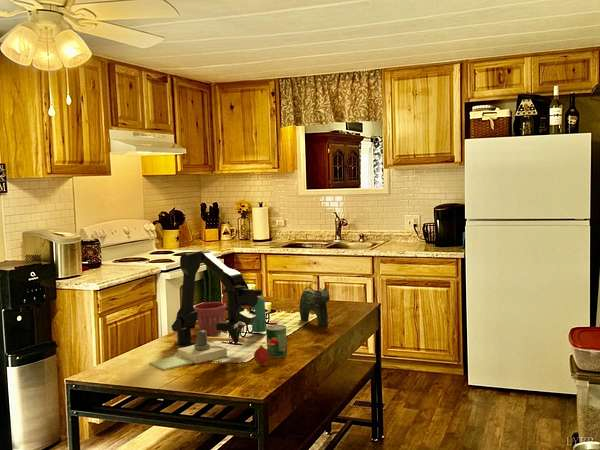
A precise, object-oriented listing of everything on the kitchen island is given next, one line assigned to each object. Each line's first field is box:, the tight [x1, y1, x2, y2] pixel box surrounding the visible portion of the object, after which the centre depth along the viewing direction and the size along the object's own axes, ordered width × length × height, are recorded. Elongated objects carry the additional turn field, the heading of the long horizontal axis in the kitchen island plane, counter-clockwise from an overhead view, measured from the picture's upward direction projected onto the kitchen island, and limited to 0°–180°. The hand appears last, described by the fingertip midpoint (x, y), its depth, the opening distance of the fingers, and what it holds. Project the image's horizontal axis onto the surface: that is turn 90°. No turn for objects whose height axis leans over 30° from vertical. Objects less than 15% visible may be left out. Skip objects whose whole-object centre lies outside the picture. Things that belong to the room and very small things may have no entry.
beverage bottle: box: [250, 288, 267, 334], centre depth 290 cm, size 6×7×20 cm
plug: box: [193, 329, 210, 351], centre depth 259 cm, size 6×6×10 cm
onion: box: [253, 344, 271, 367], centre depth 243 cm, size 6×6×8 cm
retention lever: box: [207, 336, 246, 343], centre depth 263 cm, size 20×2×1 cm, turn 73°
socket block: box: [177, 341, 228, 364], centre depth 259 cm, size 14×14×5 cm
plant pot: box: [193, 301, 227, 336], centre depth 296 cm, size 14×14×13 cm
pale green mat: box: [148, 355, 193, 371], centre depth 251 cm, size 12×12×1 cm
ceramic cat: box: [299, 281, 331, 327], centre depth 308 cm, size 20×6×20 cm, turn 34°
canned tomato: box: [265, 324, 288, 358], centre depth 257 cm, size 8×8×11 cm
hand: (236, 343), depth 259 cm, fingers closed
